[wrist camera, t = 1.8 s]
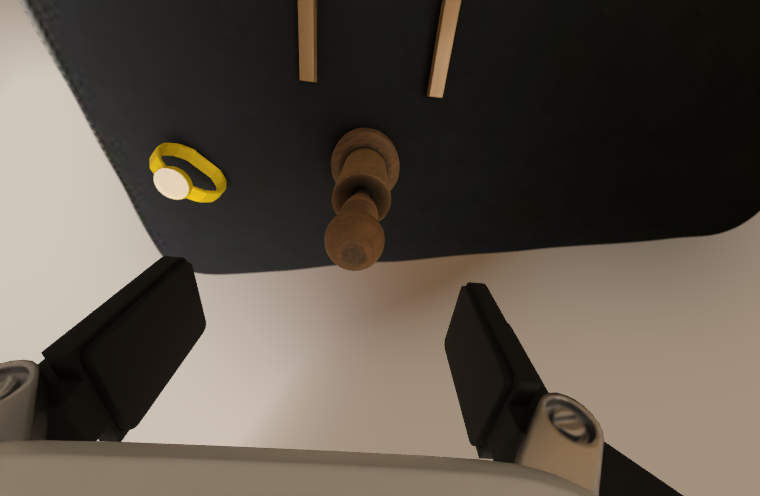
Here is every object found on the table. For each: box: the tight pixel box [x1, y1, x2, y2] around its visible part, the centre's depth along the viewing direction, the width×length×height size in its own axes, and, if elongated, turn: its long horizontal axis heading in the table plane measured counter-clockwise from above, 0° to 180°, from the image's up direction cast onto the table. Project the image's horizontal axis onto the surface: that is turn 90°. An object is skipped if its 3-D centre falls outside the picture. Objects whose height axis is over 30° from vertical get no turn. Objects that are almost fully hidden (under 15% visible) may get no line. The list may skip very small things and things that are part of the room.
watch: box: [150, 143, 226, 202], centre depth 26 cm, size 6×3×6 cm, turn 43°
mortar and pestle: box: [324, 128, 400, 271], centre depth 21 cm, size 7×6×18 cm
